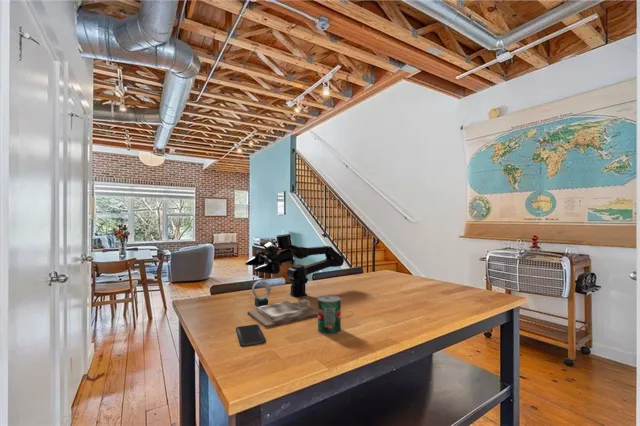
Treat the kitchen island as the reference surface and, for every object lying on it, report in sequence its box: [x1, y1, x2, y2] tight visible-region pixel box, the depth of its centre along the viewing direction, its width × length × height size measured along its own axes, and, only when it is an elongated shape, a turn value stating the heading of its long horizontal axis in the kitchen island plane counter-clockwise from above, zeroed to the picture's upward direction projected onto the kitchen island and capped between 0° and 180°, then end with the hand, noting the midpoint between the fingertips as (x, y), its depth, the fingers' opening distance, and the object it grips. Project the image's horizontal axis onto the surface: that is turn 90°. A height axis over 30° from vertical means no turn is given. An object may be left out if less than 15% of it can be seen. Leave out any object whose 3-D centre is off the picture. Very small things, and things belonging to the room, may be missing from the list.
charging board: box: [247, 298, 318, 329], centre depth 119 cm, size 24×18×4 cm
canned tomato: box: [317, 294, 342, 336], centre depth 103 cm, size 8×8×11 cm
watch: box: [251, 279, 272, 308], centre depth 131 cm, size 6×8×11 cm
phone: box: [235, 324, 267, 348], centre depth 99 cm, size 8×1×15 cm
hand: (249, 266), depth 133 cm, fingers open, 9 cm apart
